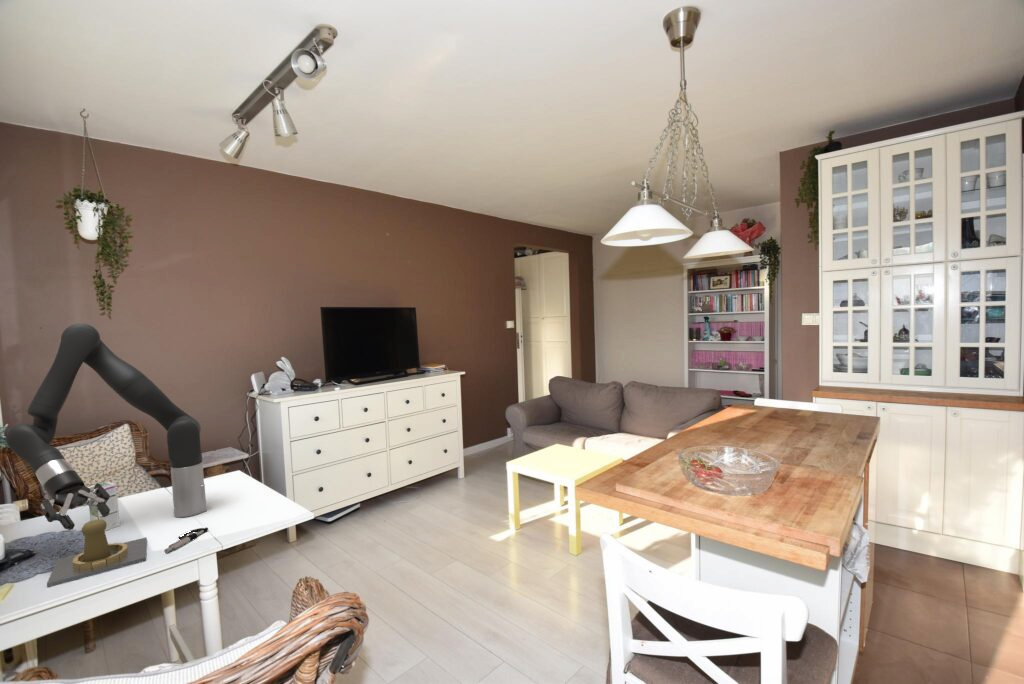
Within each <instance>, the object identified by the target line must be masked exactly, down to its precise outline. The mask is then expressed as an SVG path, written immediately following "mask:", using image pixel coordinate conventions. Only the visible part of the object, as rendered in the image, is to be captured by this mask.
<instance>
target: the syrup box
mask: <svg viewBox="0 0 1024 684" xmlns="http://www.w3.org/2000/svg"><path fill="white" fill-rule="evenodd" d="M99 484H100V485H101V486H102V487H103V488H104V489H105V490H106V492H107V493H108V494H109V495H110V498H109V499H108V501H107V503H106V505H107V506H108V508H109V509H110V512H109V514H108V516H106V517H103V516H102V514H101V513H100V512H99V510H98V509H97V508H98V507H95V506H92V505H90V506H89V507H88V511H89V517H90V518H89V519H90V521H93V520H99V519H101V520H104V521H105V522H106V524H107V526H106V529H105V532H106V530H107V531H109V529H110V530H111V528H112V529H115V528H117V527H120V526H121V521H120V512H119V511H120V510H119V501H118V494H117V493H118V492H117V484H116V483H113V482H109V481H105V482H101V483H99ZM95 485H96V484H93V485H91V486H87V487H88V488H90V487H93V486H95ZM90 493H91V494H93V493H92V492H90ZM94 495H95V494H94ZM88 500H89V501H90V500H91V499H90V498H88Z"/></svg>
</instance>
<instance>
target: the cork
mask: <svg viewBox="0 0 1024 684" xmlns="http://www.w3.org/2000/svg"><path fill="white" fill-rule="evenodd" d="M106 526H107V524H106V522H105V521H104V520H101V519H99V520H93V521H91V520H90V521H88V522H86V523H85V524H83V526H82V527H81V533H82V535H83V536H84V541H83V542H84V543H83V544H84V545H83V552H84V554H83V562H91V561H96V560H100V559H104V558H107V557H109V556H111V553H110V549H109V546H108V544H109V543H108V539H107V536H106V535H107V534H106V531H105V529H106Z"/></svg>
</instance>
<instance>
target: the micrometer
mask: <svg viewBox="0 0 1024 684" xmlns="http://www.w3.org/2000/svg"><path fill="white" fill-rule="evenodd" d="M190 531H191V532H189V533H186V532H185V533H186V534H184V533H183V534H184V536H182V537H180V535H179V536H178V538H179V539H180V540H179V539H178V538H177V539H178V540H177V541H176V542H173V543H172V544H169V546H168V547H167V548H165V549H164V553H165V554H169V553H170V552H173V551H172V550H175V551H177V550H178V549H180V548H182V547H183V545H184V546H185V545H187V544H188V542H189V543H190V542H192V541H194V540H195V538H196V539H197V538H198V537H199V535H201V534H203V533H205V532H207V531H209V528H208V527H205V528H204V527H201V528H200V527H199V528H195V529H191V530H190ZM193 532H195V533H193ZM187 534H188V535H187ZM193 539H194V540H193ZM186 543H187V544H186ZM181 546H182V547H181ZM179 547H180V548H179Z"/></svg>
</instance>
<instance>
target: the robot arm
mask: <svg viewBox="0 0 1024 684" xmlns="http://www.w3.org/2000/svg"><path fill="white" fill-rule="evenodd" d="M83 363H84V364H86V365H87V366H88V367H90V368H91V369H92V370H93V371H94V372H95V373H97V375H98V376H99V377H100V378H101V380H103V381H104V383H106V384H107V386H108V387H110V388H111V389H112V390H113V391H114V392H115V393H116V394H117V395H118V396H119V397H120V398H121V399H123V400H124V401H125V402H126V403H127V404H129V405H130V406H132V407H133V408H135V409H137V410H138V411H141V412H142V413H144V414H146V415H148V416H150V417H152V418H153V419H154V420H155V421H156V422H158V423H159V424H160V425H161V426H162V427H163V428H164V429H165V431H167V432H166V441H167V453H168V460H169V463H170V464H169V465H170V473H171V474H170V476H171V478H170V479H171V488H172V489H171V490H172V501H173V502H172V503H173V514H174V517H176V518H187V517H193V516H196V515H199V514H201V513H204V512H207V499H206V487H205V486H206V485H205V478H204V465H203V464H204V463H203V454H202V447H201V436H200V435H201V425H200V423H199V422H198V421H197V420H196V419H195V418H194V417H193V416H192V415H190V414H188V413H186V411H184V410H182V409H181V408H180V407H178V406H177V405H176V404H175V403H173V402H172V401H171V399H170V398H169V397H168V396H167V394H165V393H164V392H163V391H162V390H161V389H160V388H159V387H158V386H157V385H156V384H155V383H154V382H153V381H152V380H151V379H149V378H148V377H147V376H146V375H145V374H144V373H143V372H142V371H140V370H139V369H138V368H136V367H135V366H133V365H132V364H130V363H129V362H126V361H125V360H123V359H121V358H120V357H119V356H118V355H116V354H115V353H114V352H113V351H112V350H110V348H109V347H108V346H107V345H106V344H105V343H104V342H103V341H102V340H101V335H100V333H99V331H98V330H97V329H96V328H95V327H94V326H93V325H91V324H88V323H75V324H71V325H69V326H68V327H66V328H65V329H64V330H63V331H62V333H61V335H60V343H59V347H58V350H57V353H56V356H55V358H54V360H53V362H52V365H51V367H50V368H49V371H48V372H47V373H46V376H45V377H44V379H43V380H42V382H41V384H40V385H39V387H38V389H37V391H36V393H35V395H34V396H33V398H32V400H31V402H30V404H29V406H28V408H27V410H26V411H27V414H28V415H29V416H30V417H32V418H33V419H32V420H33V421H32V424H28V423H20V424H16V425H13V426H11V428H9V429H8V431H7V432H6V436H5V443H6V445H7V446H8V448H10V450H11V451H12V452H13V453H15V454H16V455H17V456H18V457H19V458H20V459H22V460H23V461H25V462H26V463H27V464H28V465H29V467H30V469H31V470H32V471H33V473H34V474H35V475H36V478H37V480H38V482H39V484H40V485H41V486H42V488H43V489H44V491H45V492H46V493H47V495H48V497H50V499H43V500H42V502H41V504H40V505H39V508H40V510H41V512H42V514H43V515H44V517H45V518H46V521H47V522H49V523H52V522H53V523H54V522H55V521H56V522H57V521H58V522H59V523H60V524H61V525H62V527H63V528H64V529H65V530H68V531H71V530H73V529H74V527H75V526H76V525H75V523H74V521H73V520H72V518H71V517H70V515H69V514H67V513H68V510H73V509H75V508H78V507H82V506H84V505H86V506H90V505H92V506H95V507H98V508H97V509H98V510H99V512H100V513H101V514H102V516H103V517H106V516H108V514H109V512H110V509H109V508H108V506H107V505H106V503H107V501H108V499H109V498H110V495H109V494H108V493H107V492H106V490H105V489H104V488H103V487H102V486H101V485H100V484H99V483H95V484H94V485H95V486H93V485H92V486H93V487H90V486H86V485H85V483H84V481H83V479H82V477H80V475H79V474H78V473H77V471H76V470H75V468H74V467H73V466H72V464H71V463H70V462H69V461H67V459H66V458H65V456H64V455H63V453H62V452H61V451H60V450H59V449H58V448H57V447H55V446H52V445H51V443H52V442H53V440H54V438H55V435H56V431H57V425H58V419H59V415H60V412H61V411H62V408H63V407H64V405H65V403H66V400H67V398H68V396H69V394H70V392H71V389H72V388H73V387H72V386H73V384H74V381H75V380H76V376H77V375H78V372H79V370H80V368H81V366H82V364H83ZM88 487H90V488H88ZM90 492H92V493H93V494H91V493H90ZM94 494H95V495H94ZM88 498H90V499H91V500H90V501H89V500H88ZM54 505H55V506H57V507H60V510H59V512H58V513H57V512H56V510H55V509H54V507H53V506H54Z"/></svg>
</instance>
